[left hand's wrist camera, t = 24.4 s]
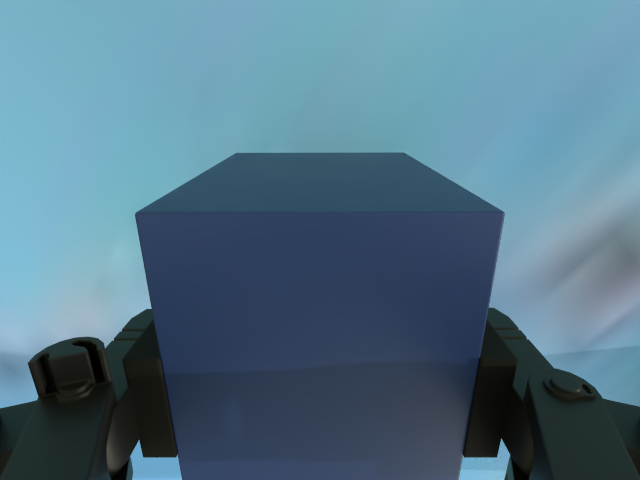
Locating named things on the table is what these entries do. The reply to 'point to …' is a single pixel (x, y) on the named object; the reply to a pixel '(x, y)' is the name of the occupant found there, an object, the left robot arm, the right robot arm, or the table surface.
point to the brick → (320, 315)
